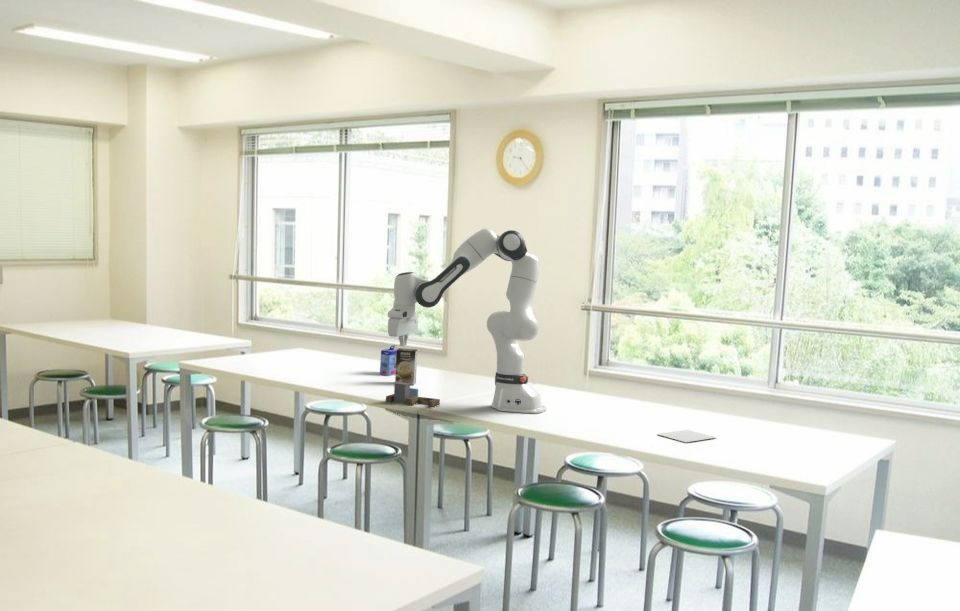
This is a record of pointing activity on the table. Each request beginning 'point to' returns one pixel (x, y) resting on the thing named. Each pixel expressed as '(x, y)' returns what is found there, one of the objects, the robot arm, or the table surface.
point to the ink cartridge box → (388, 361)
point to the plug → (401, 392)
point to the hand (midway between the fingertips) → (403, 345)
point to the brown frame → (416, 399)
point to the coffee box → (406, 366)
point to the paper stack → (686, 435)
